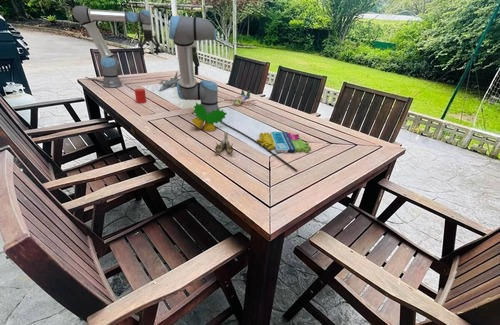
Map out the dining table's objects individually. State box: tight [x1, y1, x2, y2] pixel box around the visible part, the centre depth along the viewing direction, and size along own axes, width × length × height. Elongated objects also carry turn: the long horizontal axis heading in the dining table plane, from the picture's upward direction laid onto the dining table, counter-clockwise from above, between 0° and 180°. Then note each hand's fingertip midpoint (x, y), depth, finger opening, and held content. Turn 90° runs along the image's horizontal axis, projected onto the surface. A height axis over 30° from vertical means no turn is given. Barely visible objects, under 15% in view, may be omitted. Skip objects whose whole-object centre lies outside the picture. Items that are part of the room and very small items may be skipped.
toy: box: [223, 89, 257, 106], centre depth 219 cm, size 28×7×30 cm
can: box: [134, 88, 147, 104], centre depth 201 cm, size 7×7×10 cm
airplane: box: [156, 70, 181, 92], centre depth 249 cm, size 38×31×10 cm
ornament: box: [191, 102, 228, 132], centre depth 162 cm, size 21×8×15 cm, turn 105°
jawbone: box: [214, 131, 234, 156], centre depth 136 cm, size 9×15×10 cm
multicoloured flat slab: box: [256, 131, 312, 154], centre depth 152 cm, size 26×2×30 cm
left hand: (150, 54), depth 247 cm, fingers open, 13 cm apart
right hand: (192, 76), depth 203 cm, fingers open, 13 cm apart
